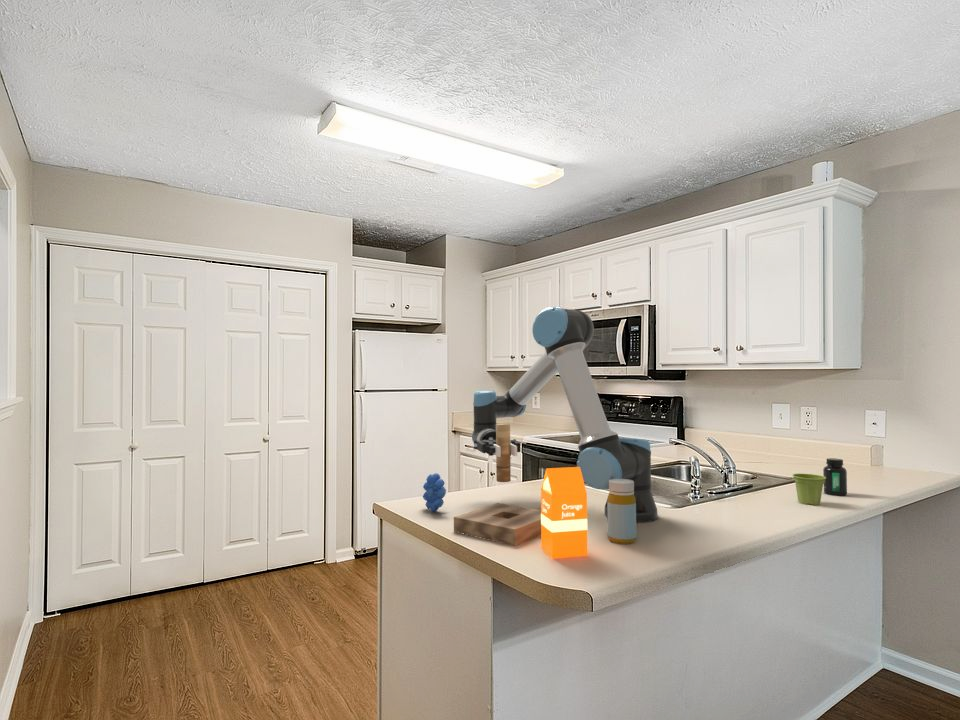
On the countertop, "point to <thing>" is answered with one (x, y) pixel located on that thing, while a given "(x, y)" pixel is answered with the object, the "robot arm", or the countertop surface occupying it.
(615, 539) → the bottle
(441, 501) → the grapes
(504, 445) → the oak leg
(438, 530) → the countertop surface
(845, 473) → the supplement bottle
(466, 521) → the walnut board
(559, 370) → the robot arm
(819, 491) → the plant pot
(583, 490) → the orange juice
